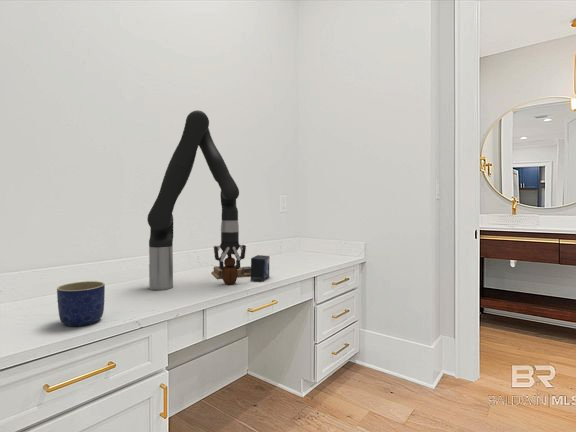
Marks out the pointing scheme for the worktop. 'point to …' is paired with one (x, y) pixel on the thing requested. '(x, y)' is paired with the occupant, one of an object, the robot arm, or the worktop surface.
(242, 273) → the wooden tray
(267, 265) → the small box
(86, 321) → the planter
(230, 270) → the wooden figurine
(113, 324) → the worktop surface
